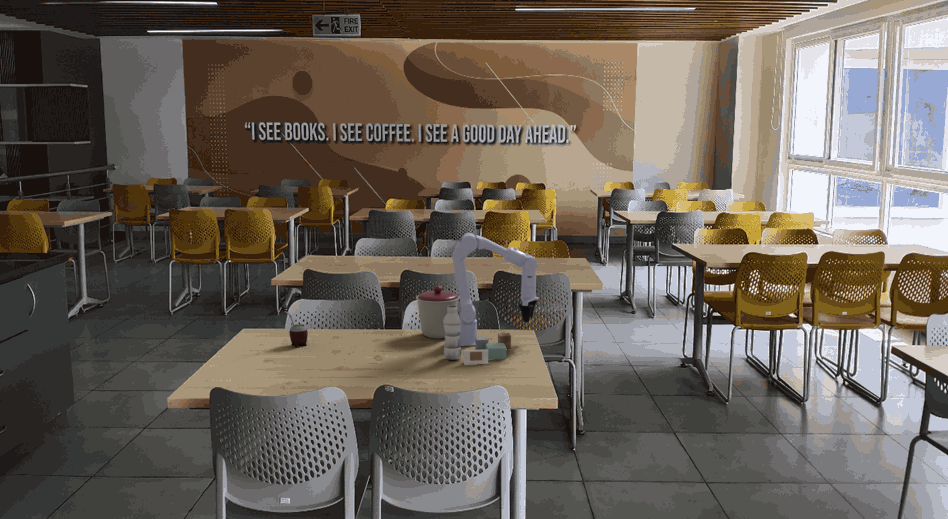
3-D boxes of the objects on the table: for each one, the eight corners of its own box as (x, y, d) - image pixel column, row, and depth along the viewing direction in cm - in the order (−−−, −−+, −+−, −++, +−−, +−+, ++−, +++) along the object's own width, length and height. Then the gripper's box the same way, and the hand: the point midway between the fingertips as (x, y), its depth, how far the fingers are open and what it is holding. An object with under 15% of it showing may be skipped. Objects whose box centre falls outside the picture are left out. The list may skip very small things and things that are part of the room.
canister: (409, 339, 290) (409, 288, 287) (425, 328, 307) (425, 280, 304) (451, 343, 285) (451, 291, 282) (465, 331, 302) (465, 283, 299)
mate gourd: (310, 343, 284) (309, 306, 282) (303, 349, 277) (302, 311, 274) (292, 342, 285) (291, 306, 283) (285, 348, 277) (283, 310, 275)
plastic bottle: (459, 362, 261) (459, 309, 257) (441, 361, 262) (441, 308, 259) (463, 357, 267) (463, 305, 263) (445, 356, 268) (445, 304, 265)
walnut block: (499, 350, 276) (499, 336, 275) (497, 346, 281) (498, 333, 280) (510, 349, 277) (511, 335, 276) (508, 346, 281) (509, 332, 280)
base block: (487, 360, 264) (487, 348, 263) (485, 354, 271) (485, 343, 270) (506, 359, 265) (506, 348, 264) (503, 354, 272) (503, 342, 271)
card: (464, 365, 257) (464, 351, 257) (463, 362, 260) (463, 349, 260) (488, 364, 259) (488, 351, 258) (487, 361, 261) (487, 348, 261)
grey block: (476, 354, 271) (476, 340, 270) (475, 350, 275) (475, 336, 274) (488, 353, 271) (488, 339, 270) (486, 350, 276) (486, 336, 275)
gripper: (535, 290, 274) (534, 324, 276) (541, 283, 288) (540, 315, 290) (517, 289, 276) (516, 323, 278) (524, 282, 289) (523, 314, 292)
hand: (527, 319), depth 284 cm, fingers open, 7 cm apart
